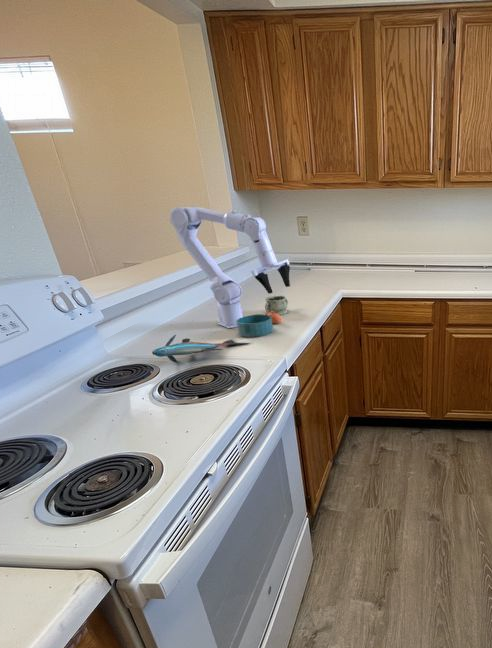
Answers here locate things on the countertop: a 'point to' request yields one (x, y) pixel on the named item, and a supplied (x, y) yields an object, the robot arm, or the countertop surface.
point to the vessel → (276, 304)
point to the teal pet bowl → (254, 325)
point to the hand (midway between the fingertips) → (279, 289)
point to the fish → (187, 348)
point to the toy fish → (274, 317)
